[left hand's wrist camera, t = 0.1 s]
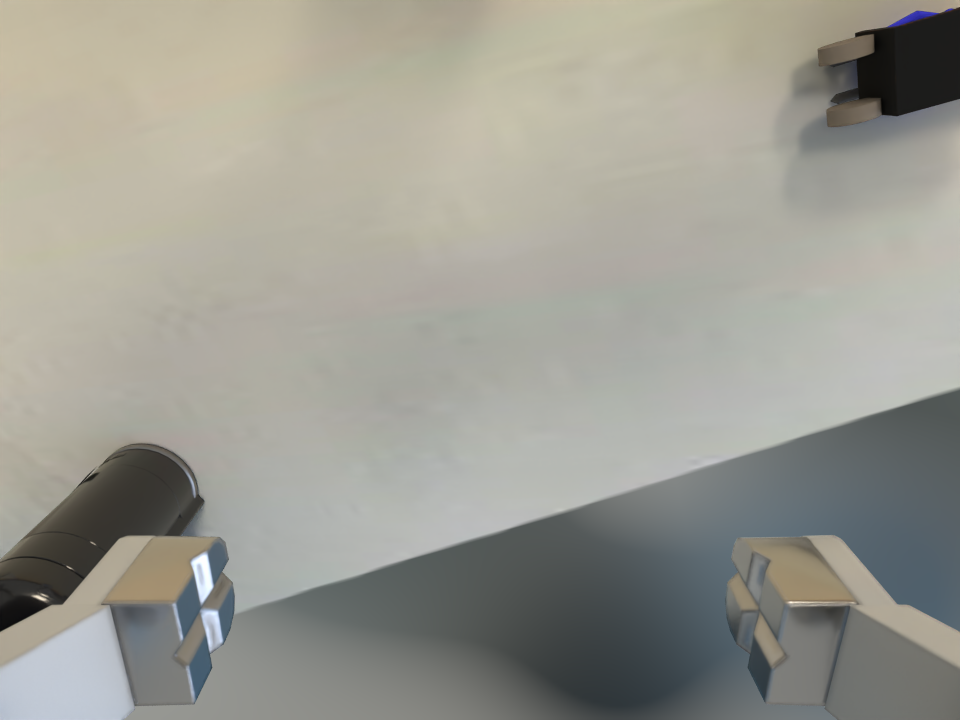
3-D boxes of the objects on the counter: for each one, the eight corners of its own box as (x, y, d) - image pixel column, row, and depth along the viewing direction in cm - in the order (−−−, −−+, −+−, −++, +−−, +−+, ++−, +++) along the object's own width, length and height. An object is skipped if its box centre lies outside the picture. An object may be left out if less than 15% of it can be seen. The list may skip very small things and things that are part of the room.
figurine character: (806, 132, 55) (1007, 74, 51) (842, 138, 48) (1077, 71, 44) (795, 47, 52) (1005, -19, 49) (832, 41, 45) (1078, -37, 42)
